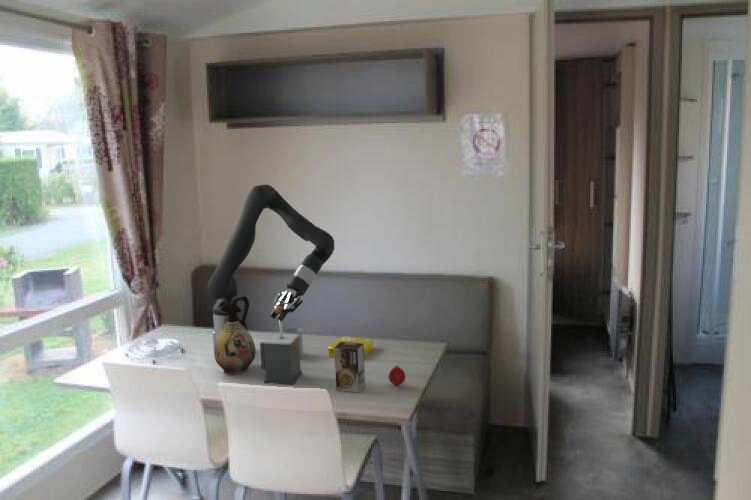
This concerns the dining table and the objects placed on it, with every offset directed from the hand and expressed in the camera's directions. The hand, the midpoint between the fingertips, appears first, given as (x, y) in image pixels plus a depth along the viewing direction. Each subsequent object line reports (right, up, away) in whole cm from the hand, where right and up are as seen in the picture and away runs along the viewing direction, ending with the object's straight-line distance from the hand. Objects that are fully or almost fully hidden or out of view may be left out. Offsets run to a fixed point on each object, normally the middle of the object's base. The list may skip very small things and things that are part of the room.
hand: (275, 318), depth 238 cm
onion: (+44, -24, -5) cm, 50 cm away
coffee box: (+27, -24, -5) cm, 37 cm away
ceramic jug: (-16, -22, +15) cm, 31 cm away
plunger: (+2, -14, +4) cm, 15 cm away
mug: (+1, -19, +30) cm, 35 cm away
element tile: (+26, -18, +32) cm, 45 cm away
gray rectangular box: (+1, -23, +6) cm, 24 cm away
